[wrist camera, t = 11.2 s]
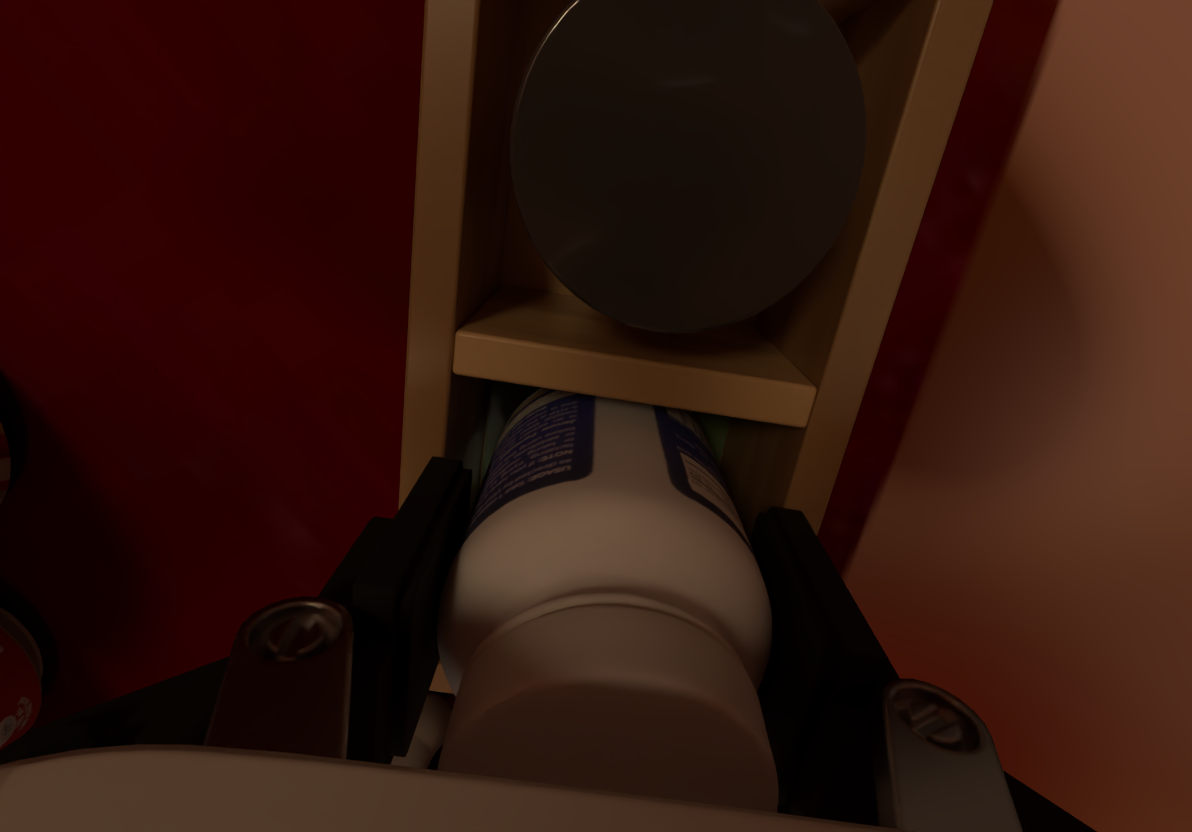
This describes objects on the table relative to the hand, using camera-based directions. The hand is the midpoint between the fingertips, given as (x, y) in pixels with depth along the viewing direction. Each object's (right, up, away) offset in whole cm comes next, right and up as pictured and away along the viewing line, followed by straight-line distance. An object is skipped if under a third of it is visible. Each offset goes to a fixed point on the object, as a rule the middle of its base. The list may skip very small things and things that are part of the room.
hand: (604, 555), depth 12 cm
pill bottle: (0, +1, +4) cm, 4 cm away
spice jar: (+1, +8, +2) cm, 9 cm away
